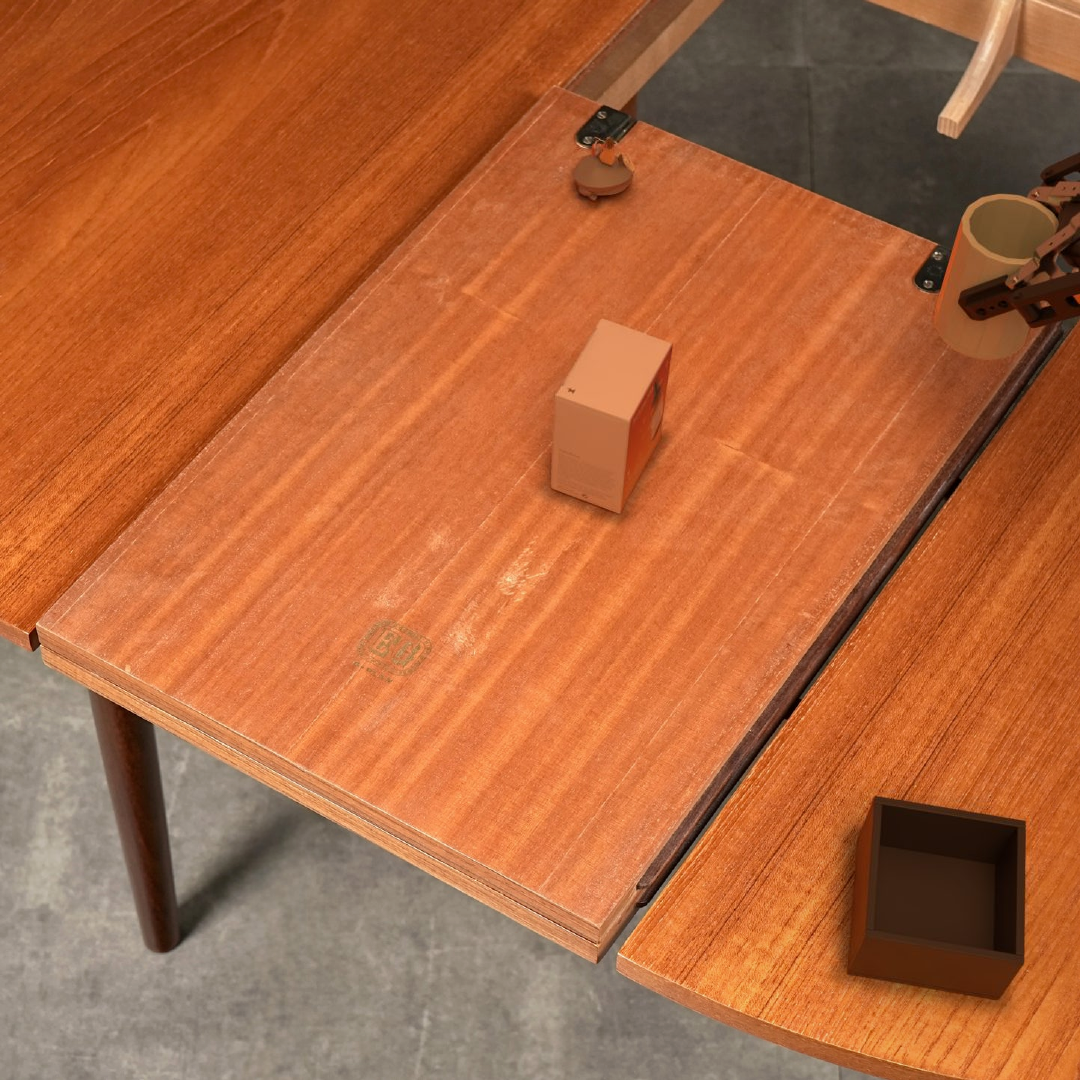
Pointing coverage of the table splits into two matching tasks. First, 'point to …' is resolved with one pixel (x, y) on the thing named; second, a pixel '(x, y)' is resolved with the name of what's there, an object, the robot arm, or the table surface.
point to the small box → (609, 415)
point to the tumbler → (991, 271)
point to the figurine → (603, 171)
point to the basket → (939, 898)
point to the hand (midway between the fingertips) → (975, 269)
